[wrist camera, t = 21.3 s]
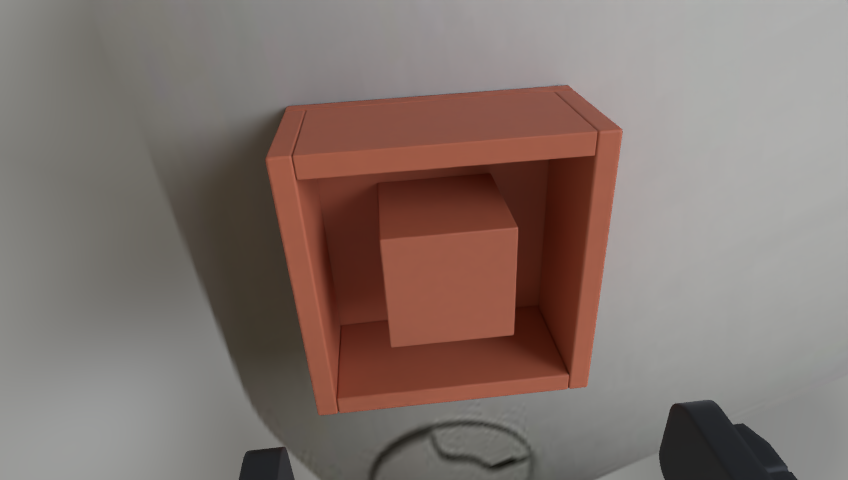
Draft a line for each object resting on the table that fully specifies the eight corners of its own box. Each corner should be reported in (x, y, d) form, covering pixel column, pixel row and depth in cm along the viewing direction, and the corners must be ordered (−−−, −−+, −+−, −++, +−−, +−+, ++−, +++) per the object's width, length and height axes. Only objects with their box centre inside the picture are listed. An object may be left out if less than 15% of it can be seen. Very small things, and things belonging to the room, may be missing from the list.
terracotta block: (386, 278, 21) (390, 348, 17) (376, 182, 19) (379, 240, 15) (489, 268, 21) (514, 335, 18) (491, 172, 19) (518, 227, 16)
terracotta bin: (326, 330, 23) (318, 416, 19) (286, 105, 18) (263, 157, 14) (549, 308, 23) (587, 387, 19) (568, 84, 18) (624, 128, 14)
